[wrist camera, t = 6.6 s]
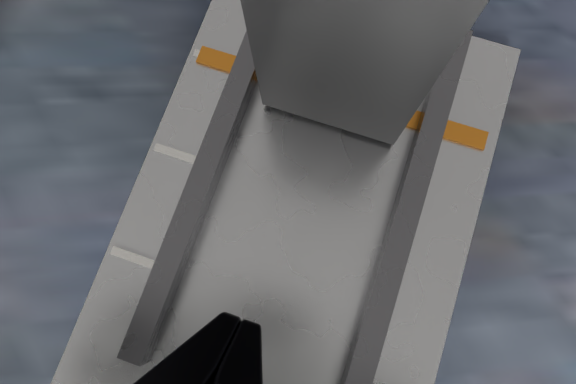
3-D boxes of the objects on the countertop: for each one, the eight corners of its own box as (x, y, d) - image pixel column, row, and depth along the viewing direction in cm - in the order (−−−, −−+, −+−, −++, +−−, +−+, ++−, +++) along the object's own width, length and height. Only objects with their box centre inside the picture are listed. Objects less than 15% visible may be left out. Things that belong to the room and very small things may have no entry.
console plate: (363, 613, 14) (374, 665, 12) (26, 472, 15) (-15, 500, 13) (508, 62, 18) (534, 35, 16) (229, -18, 19) (221, -53, 17)
